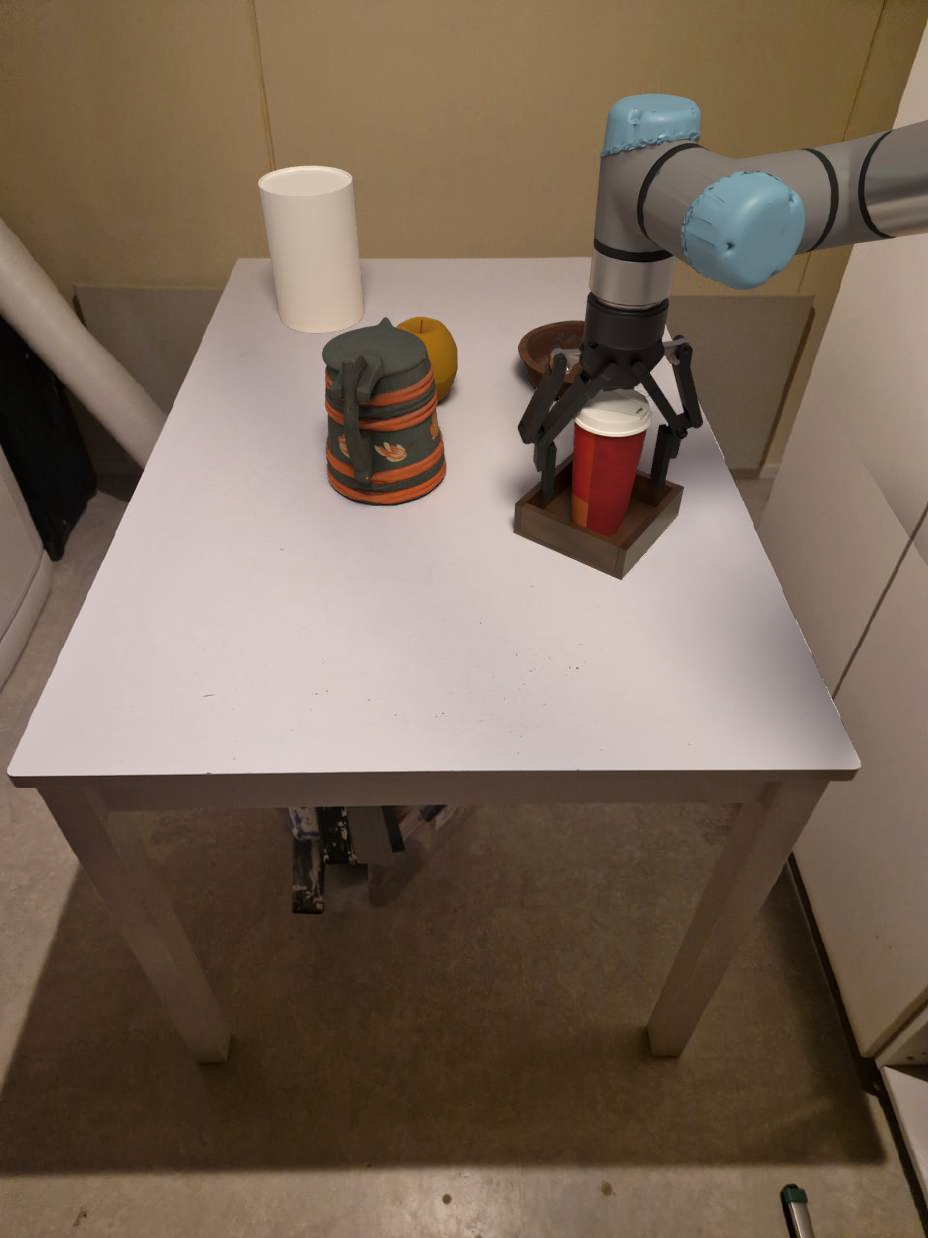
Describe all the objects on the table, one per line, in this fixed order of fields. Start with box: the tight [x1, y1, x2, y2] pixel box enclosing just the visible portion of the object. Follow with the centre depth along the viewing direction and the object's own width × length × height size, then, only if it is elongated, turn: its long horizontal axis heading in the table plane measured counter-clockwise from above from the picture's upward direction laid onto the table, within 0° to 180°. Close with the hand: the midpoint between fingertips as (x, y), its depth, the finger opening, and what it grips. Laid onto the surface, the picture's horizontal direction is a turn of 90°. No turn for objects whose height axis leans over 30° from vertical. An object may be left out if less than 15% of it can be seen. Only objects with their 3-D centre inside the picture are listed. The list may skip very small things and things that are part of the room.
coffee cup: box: [571, 389, 653, 536], centre depth 89 cm, size 8×8×15 cm
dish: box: [517, 319, 591, 399], centre depth 116 cm, size 18×22×5 cm
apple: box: [395, 316, 459, 403], centre depth 110 cm, size 10×10×12 cm
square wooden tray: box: [513, 451, 685, 581], centre depth 93 cm, size 14×14×4 cm
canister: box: [257, 165, 365, 334], centre depth 127 cm, size 14×14×20 cm
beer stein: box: [321, 316, 447, 505], centre depth 93 cm, size 19×15×20 cm
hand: (601, 487), depth 91 cm, fingers open, 12 cm apart
